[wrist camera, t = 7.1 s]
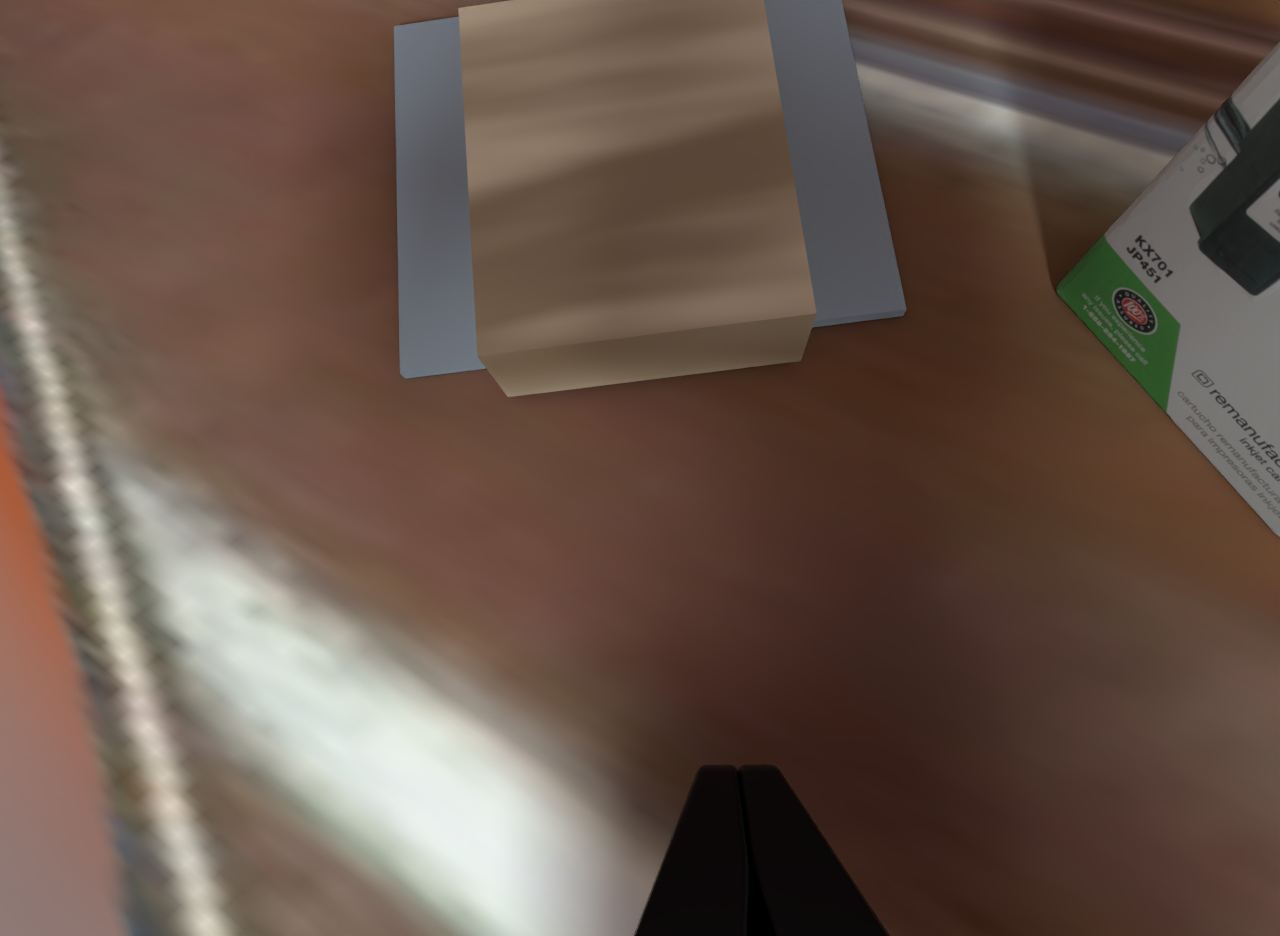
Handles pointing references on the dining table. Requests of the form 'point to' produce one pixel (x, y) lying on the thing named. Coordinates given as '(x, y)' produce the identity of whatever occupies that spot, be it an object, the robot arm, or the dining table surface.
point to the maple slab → (629, 192)
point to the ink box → (1204, 289)
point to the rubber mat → (819, 151)
